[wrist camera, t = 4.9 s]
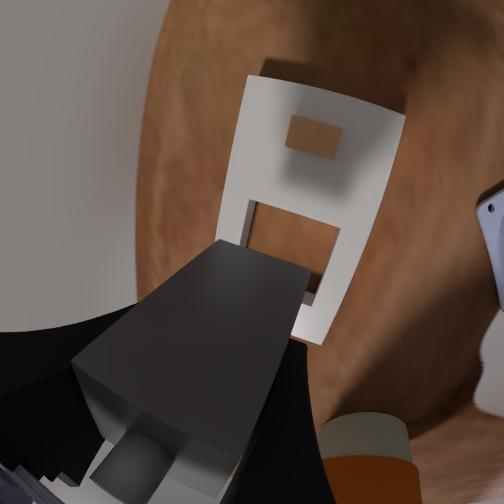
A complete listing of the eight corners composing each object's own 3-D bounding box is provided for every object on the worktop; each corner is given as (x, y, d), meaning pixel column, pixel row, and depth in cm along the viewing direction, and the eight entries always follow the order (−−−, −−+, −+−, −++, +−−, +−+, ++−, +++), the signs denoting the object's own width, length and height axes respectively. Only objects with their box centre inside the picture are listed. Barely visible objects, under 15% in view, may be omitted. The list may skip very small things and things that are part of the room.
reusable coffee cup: (277, 412, 23) (215, 554, 10) (415, 382, 17) (410, 569, 4) (324, 468, 25) (291, 574, 12) (430, 449, 20) (421, 571, 7)
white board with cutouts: (257, 79, 14) (244, 72, 12) (400, 118, 12) (408, 114, 10) (214, 290, 20) (201, 306, 18) (323, 331, 18) (319, 351, 16)
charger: (219, 238, 10) (19, 406, 3) (312, 271, 10) (202, 533, 2) (206, 312, 12) (73, 470, 4) (284, 343, 11) (193, 541, 4)
